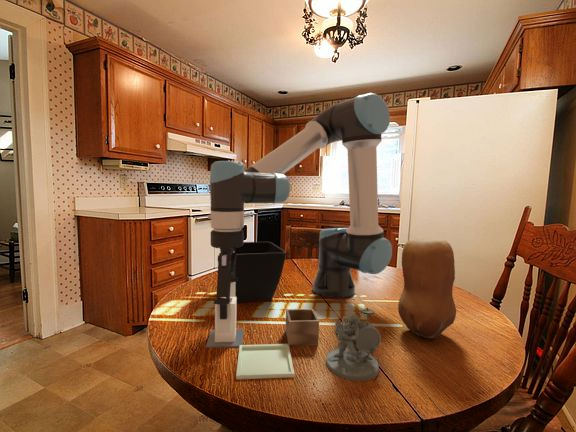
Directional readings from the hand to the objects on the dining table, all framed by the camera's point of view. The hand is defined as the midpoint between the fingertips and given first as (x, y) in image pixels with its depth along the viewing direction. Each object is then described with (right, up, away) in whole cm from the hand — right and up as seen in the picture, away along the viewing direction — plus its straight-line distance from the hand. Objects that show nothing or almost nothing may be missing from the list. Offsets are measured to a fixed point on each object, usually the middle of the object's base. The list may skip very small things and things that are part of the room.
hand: (227, 318), depth 70 cm
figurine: (+28, -7, -9) cm, 30 cm away
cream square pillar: (0, -5, 0) cm, 5 cm away
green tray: (+10, -6, -9) cm, 14 cm away
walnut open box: (+18, -6, +2) cm, 19 cm away
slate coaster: (0, -5, 0) cm, 5 cm away
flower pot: (+2, -3, +31) cm, 31 cm away
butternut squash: (+49, -6, +5) cm, 50 cm away
